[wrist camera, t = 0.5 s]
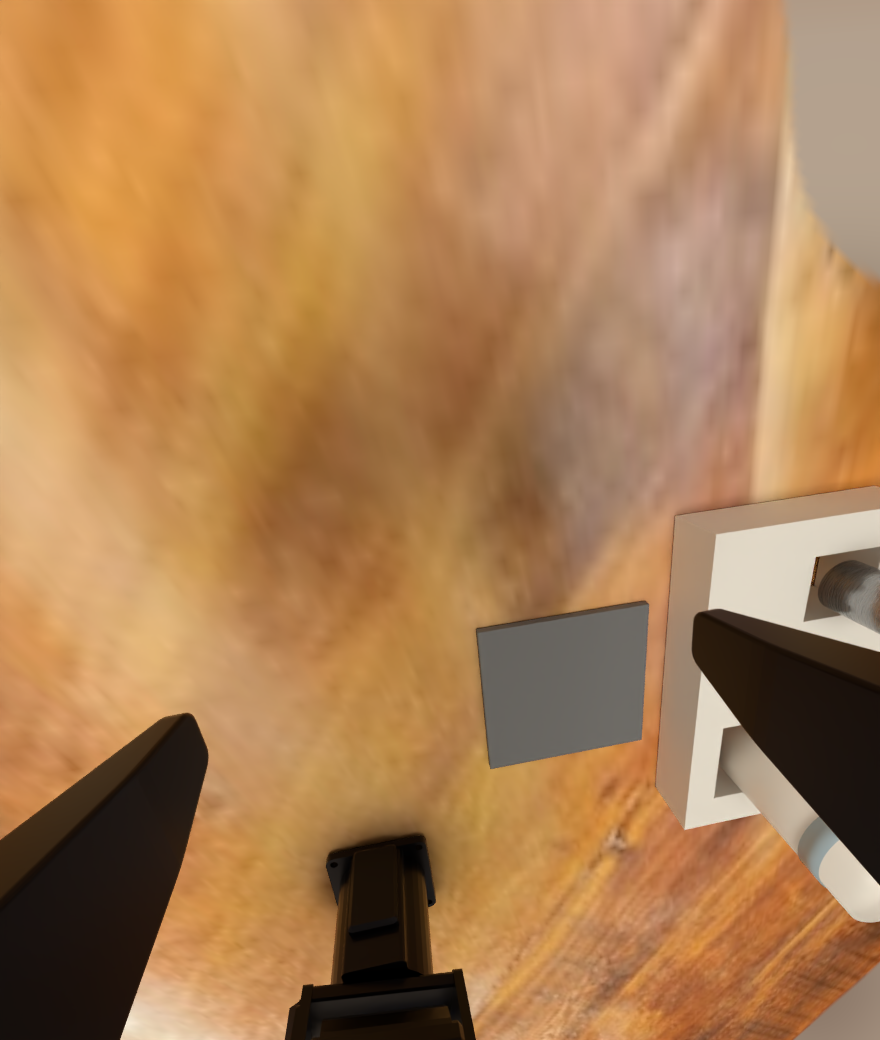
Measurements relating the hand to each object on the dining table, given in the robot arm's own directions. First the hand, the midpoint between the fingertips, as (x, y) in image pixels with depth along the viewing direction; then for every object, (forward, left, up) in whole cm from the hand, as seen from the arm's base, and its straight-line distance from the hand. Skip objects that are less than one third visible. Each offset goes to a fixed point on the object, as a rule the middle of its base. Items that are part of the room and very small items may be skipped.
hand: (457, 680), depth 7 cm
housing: (-13, -20, -14) cm, 28 cm away
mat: (-13, -8, -14) cm, 21 cm away
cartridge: (-18, -19, -14) cm, 30 cm away
